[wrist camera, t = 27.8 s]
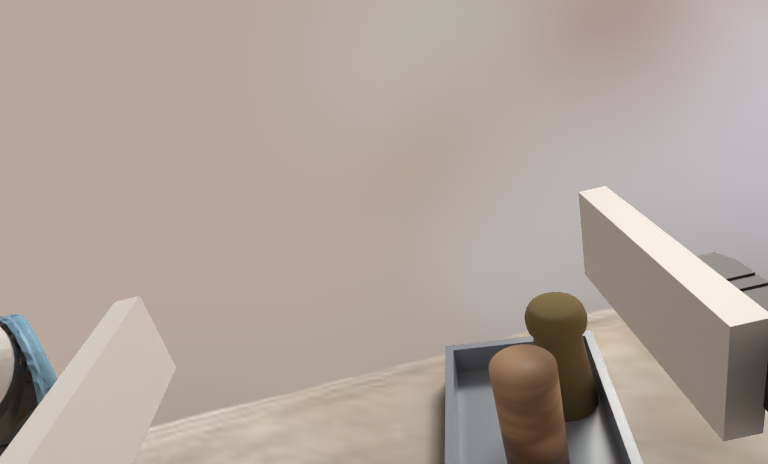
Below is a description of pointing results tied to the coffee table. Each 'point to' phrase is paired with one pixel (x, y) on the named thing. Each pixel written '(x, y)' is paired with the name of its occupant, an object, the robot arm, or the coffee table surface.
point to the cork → (565, 349)
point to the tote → (480, 420)
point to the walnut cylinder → (529, 405)
